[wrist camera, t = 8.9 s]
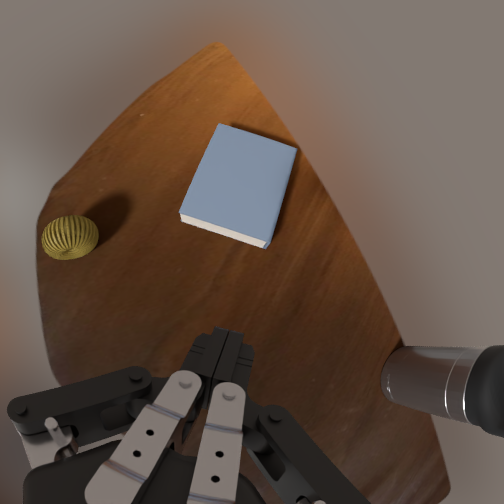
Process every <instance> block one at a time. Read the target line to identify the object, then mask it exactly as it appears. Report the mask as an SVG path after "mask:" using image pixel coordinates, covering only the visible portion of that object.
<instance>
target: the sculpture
mask: <svg viewBox="0 0 504 504" xmlns="http://www.w3.org/2000/svg"><path fill="white" fill-rule="evenodd" d="M68 218H69V219H68ZM82 233H83V234H82ZM98 233H99V232H98V229H97V227H96V225H95V224H94V222H92V221H91V220H90V219H88V218H86V217H83V216H79V215H70V216H69V217H68V216H65V217H61V218H58V219H56V220H54V221H52V222H51V223H49V225H48V226H47V227H46V228H45V230H44V231H43V235H42V245H43V249H44V250H45V252H46V253H47V254H48V255H49V256H51V257H53V258H55V259H60V260H62V259H63V260H66V259H67V260H68V259H75V258H78V257H81V256H84V255H86V254H88V253H89V252H90V251H92V250H93V249H94V248H95V246H96V245H97V242H98V238H99V234H98ZM75 234H76V237H75ZM65 235H66V238H65ZM79 235H80V236H81V237H80V236H79ZM61 238H63V239H61ZM54 241H55V242H54Z"/></svg>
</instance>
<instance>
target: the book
mask: <svg viewBox="0 0 504 504" xmlns="http://www.w3.org/2000/svg"><path fill="white" fill-rule="evenodd" d="M296 152H297V148H294V147H291V146H288V145H285V144H283V143H280V142H277V141H274V140H271V139H268V138H265V137H262V136H259V135H256V134H253V133H250V132H247V131H243V130H240V129H237V128H233V127H230V126H227V125H223V124H220V123H219V124H218V126H217V128H216V130H215V132H214V134H213V136H212V139H211V141H210V143H209V145H208V147H207V149H206V151H205V153H204V156H203V158H202V160H201V162H200V164H199V167H198V169H197V171H196V173H195V176H194V178H193V180H192V182H191V185H190V187H189V189H188V192H187V194H186V196H185V199H184V201H183V204H182V206H181V208H180V211H179V213H180V215H181V221H182V222H185V223H188V224H191V225H194V226H197V227H200V228H203V229H206V230H209V231H212V232H216V233H219V234H222V235H225V236H228V237H231V238H234V239H237V240H240V241H243V242H246V243H249V244H252V245H255V246H258V247H261V248H264V249H266V248H267V246H268V245H269V244H270V242H271V239H272V236H273V232H274V229H275V225H276V222H277V218H278V215H279V211H280V208H281V204H282V201H283V198H284V194H285V191H286V187H287V183H288V180H289V176H290V173H291V169H292V166H293V162H294V159H295V155H296Z"/></svg>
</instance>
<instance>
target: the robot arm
mask: <svg viewBox="0 0 504 504" xmlns="http://www.w3.org/2000/svg"><path fill="white" fill-rule="evenodd" d="M243 337H244V333H240V332H236V331H232V330H230V332H229V330H228V329H224V328H220V327H216V326H215V328H214V330H213V332H212V335H208V334H205V333H202V334H201V335H199V336H198V337H196V339H195V341H194V343H193V345H192V347H191V349H190V351H189V352H188V354H187V356H186V358H185V360H184V362H183V364H182V366H181V368H180V370H179V371H177V372H175V373H174V374H172V375H171V377H167V378H158V377H151V374H150V372H149V371H148V370H146V369H145V368H142V367H138V366H132V367H128V368H125V369H121V370H118V371H115V372H112V373H108V374H105V375H102V376H98V377H95V378H91V379H88V380H84V381H80V382H77V383H73V384H69V385H66V386H62V387H58V388H54V389H50V390H46V391H42V392H38V393H34V394H29V395H25V396H20V397H17V398H14V399H13V400H12V401H10V403H9V405H8V407H7V413H8V415H9V417H10V419H11V420H12V422H13V423H14V426H15V428H16V429H17V431H18V433H19V434H20V435H21V438H22V441H23V444H24V448H25V451H26V453H27V456H28V459H29V462H30V465H31V467H32V470H31V471H30V472H29V473H28V474H27V476H26V477H25V480H24V483H23V504H266V503H265V501H264V500H263V498H262V497H261V495H260V494H259V492H258V491H257V489H256V488H255V486H254V485H253V484H252V483H251V482H250V481H249V480H248V479H247V478H246V477H245V476H243V475H242V474H240V473H239V463H240V455H241V446H242V445H243V446H245V447H247V451H248V453H249V455H250V456H251V458H252V459H253V461H254V462H255V463H256V465H257V466H258V468H259V469H260V471H261V472H262V473H263V475H264V476H265V478H266V479H267V480H268V482H269V483H270V484H271V486H272V487H273V488H274V490H275V491H276V492H277V494H278V495H279V496H280V498H281V499H282V500H283V502H284V503H285V504H371V503H370V502H369V501H368V500H367V499H366V498H365V497H364V496H363V495H362V494H361V493H360V492H359V491H358V490H357V489H356V488H355V487H354V486H353V484H352V483H351V482H350V481H349V480H348V479H347V478H346V477H345V476H344V475H343V474H342V473H341V472H340V471H339V469H338V468H337V467H336V466H335V465H334V464H333V463H332V462H331V461H330V460H329V458H328V457H327V456H326V455H325V454H324V453H323V452H322V451H321V449H320V448H319V447H318V446H317V445H316V444H315V443H314V441H313V440H312V439H311V438H310V437H309V436H308V434H307V433H306V432H305V431H304V430H303V428H302V427H301V426H300V425H299V424H298V423H297V421H296V420H295V419H294V418H293V417H292V415H291V414H290V413H289V412H288V411H287V410H286V409H285V408H283V407H281V406H278V405H268V406H265V407H262V406H260V405H258V404H256V403H254V402H253V401H252V400H251V399H250V398H249V396H248V394H247V386H248V381H249V377H250V372H251V367H252V363H253V358H254V354H255V353H254V350H253V347H252V345H247V344H243V343H242V341H243ZM381 387H382V391H383V393H384V395H385V397H386V398H387V399H388V400H390V401H392V402H394V403H397V404H400V405H403V406H406V407H409V408H413V409H416V410H419V411H423V412H426V413H430V414H433V415H437V416H440V417H444V418H448V419H452V420H456V421H460V422H464V423H468V424H472V425H477V426H480V427H481V428H482V429H483V430H484V431H485V432H487V433H489V434H492V435H496V436H500V437H503V438H504V345H499V346H475V347H422V346H421V347H420V346H405V347H401V348H399V349H397V350H396V351H394V352H393V353H392V354H391V355H390V356H389V358H388V359H387V361H386V363H385V365H384V367H383V371H382V374H381ZM208 403H209V405H208ZM207 406H208V410H209V412H208V416H207V420H206V424H205V427H204V431H203V435H202V440H201V444H200V448H199V453H198V457H193V456H184V455H181V454H182V451H183V448H184V446H185V444H186V442H187V440H188V438H189V436H190V434H191V432H192V430H193V427H194V425H195V423H196V421H197V417H198V416H199V413H200V410H201V408H203V409H207ZM125 431H128V432H127V433H126V435H125V436H124V438H123V439H122V440H116V441H112V442H109V443H106V444H104V445H101V446H99V447H96V448H93V449H90V450H88V451H85V452H82V453H79V454H77V452H78V447H81V446H84V445H87V444H91V443H94V442H96V441H99V440H102V439H105V438H109V437H111V436H114V435H117V434H120V433H123V432H125Z"/></svg>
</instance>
